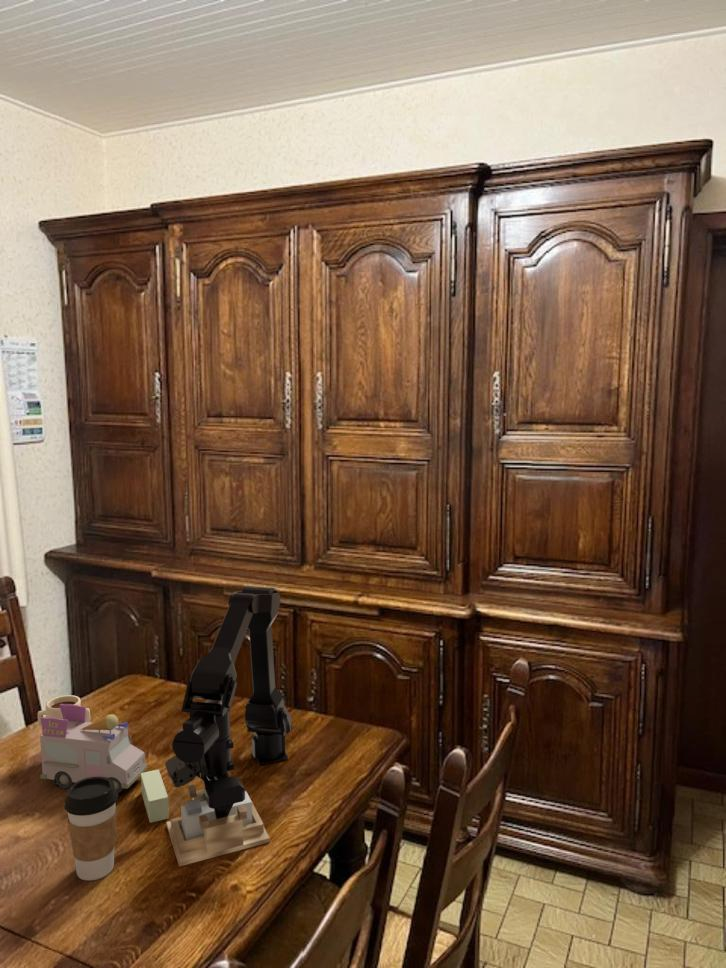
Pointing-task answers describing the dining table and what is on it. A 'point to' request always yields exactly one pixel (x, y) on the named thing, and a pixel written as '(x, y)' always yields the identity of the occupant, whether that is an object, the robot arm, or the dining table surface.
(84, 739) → the toy vehicle
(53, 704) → the character mug
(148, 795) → the pale green rectangular block
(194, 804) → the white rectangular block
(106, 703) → the dining table surface
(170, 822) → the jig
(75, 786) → the coffee cup
